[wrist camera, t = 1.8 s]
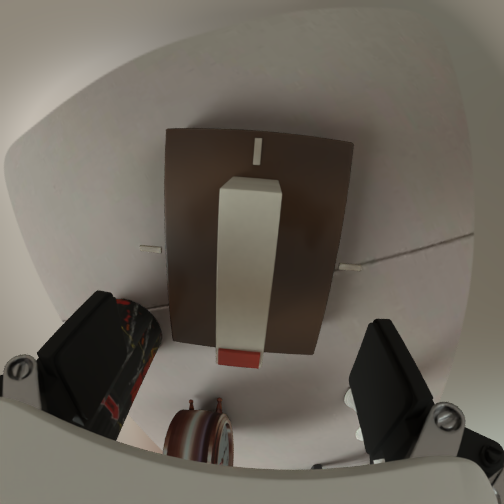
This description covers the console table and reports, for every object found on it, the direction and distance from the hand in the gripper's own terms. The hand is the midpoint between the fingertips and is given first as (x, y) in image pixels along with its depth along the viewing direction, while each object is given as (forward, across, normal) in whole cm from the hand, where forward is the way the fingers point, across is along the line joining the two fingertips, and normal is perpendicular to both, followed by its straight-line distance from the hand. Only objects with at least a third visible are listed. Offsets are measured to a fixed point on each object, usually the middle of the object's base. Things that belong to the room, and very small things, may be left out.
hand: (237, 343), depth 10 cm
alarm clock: (+10, +3, +20) cm, 22 cm away
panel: (+10, 0, 0) cm, 10 cm away
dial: (+7, 0, 0) cm, 7 cm away
